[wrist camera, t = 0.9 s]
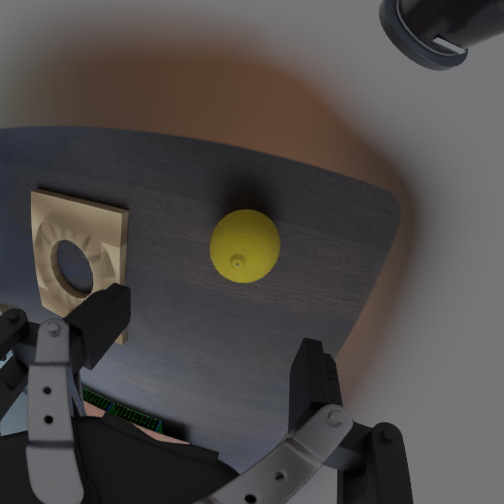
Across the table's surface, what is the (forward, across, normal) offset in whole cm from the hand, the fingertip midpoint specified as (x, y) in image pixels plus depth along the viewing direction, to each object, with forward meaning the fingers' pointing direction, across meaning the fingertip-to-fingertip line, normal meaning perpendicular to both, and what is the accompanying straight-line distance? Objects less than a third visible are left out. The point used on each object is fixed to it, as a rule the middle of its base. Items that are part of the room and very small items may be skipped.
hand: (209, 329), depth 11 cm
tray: (+15, +21, +10) cm, 28 cm away
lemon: (+15, 0, 0) cm, 15 cm away
